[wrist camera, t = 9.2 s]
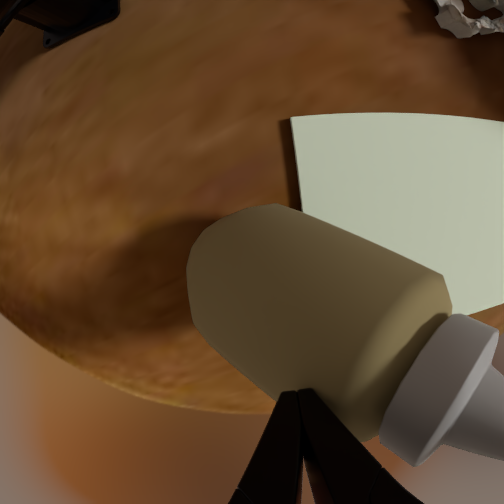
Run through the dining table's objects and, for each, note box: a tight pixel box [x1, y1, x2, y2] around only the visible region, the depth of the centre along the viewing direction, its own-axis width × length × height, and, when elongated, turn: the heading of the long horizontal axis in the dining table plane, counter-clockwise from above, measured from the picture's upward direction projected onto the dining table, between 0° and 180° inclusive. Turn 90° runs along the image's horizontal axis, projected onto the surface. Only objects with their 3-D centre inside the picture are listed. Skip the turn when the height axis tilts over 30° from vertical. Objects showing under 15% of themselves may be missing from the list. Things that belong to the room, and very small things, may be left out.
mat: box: [290, 113, 504, 315], centre depth 18 cm, size 20×16×1 cm
